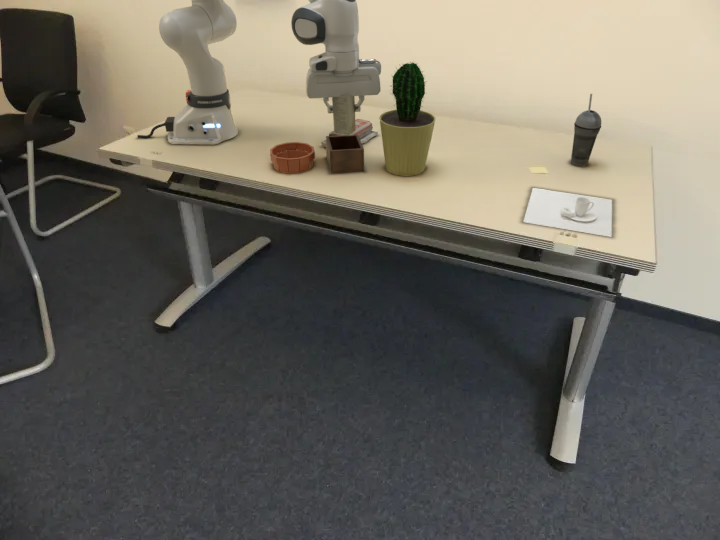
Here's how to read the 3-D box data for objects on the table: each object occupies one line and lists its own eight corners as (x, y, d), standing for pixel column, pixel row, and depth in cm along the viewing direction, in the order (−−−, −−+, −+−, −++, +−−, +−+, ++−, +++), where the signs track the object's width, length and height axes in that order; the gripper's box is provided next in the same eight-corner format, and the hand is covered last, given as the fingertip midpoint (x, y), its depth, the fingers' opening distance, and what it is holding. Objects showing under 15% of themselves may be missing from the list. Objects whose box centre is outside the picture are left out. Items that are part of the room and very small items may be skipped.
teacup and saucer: (558, 219, 136) (561, 204, 133) (560, 204, 142) (563, 190, 140) (596, 225, 133) (600, 210, 131) (597, 210, 139) (601, 196, 137)
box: (356, 130, 159) (355, 91, 152) (349, 135, 155) (348, 96, 149) (339, 128, 160) (338, 89, 154) (332, 133, 157) (331, 93, 151)
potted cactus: (423, 155, 169) (430, 51, 152) (438, 176, 156) (447, 66, 139) (374, 159, 167) (375, 54, 150) (384, 181, 154) (387, 69, 137)
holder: (330, 173, 158) (329, 151, 154) (326, 157, 168) (325, 136, 164) (364, 171, 159) (364, 149, 156) (358, 155, 169) (358, 134, 165)
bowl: (271, 175, 157) (270, 160, 155) (271, 158, 168) (269, 143, 165) (316, 172, 159) (315, 157, 156) (313, 155, 169) (312, 140, 167)
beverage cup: (579, 170, 159) (595, 100, 148) (560, 161, 165) (574, 93, 153) (597, 165, 162) (614, 96, 151) (578, 156, 167) (594, 89, 156)
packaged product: (352, 115, 184) (378, 121, 180) (353, 129, 187) (378, 135, 183) (320, 132, 172) (346, 138, 168) (321, 146, 175) (347, 153, 170)
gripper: (379, 55, 151) (378, 106, 158) (303, 59, 148) (306, 110, 156) (383, 61, 146) (382, 113, 153) (305, 65, 143) (308, 117, 151)
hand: (343, 111), depth 155 cm, fingers closed on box, 6 cm apart
